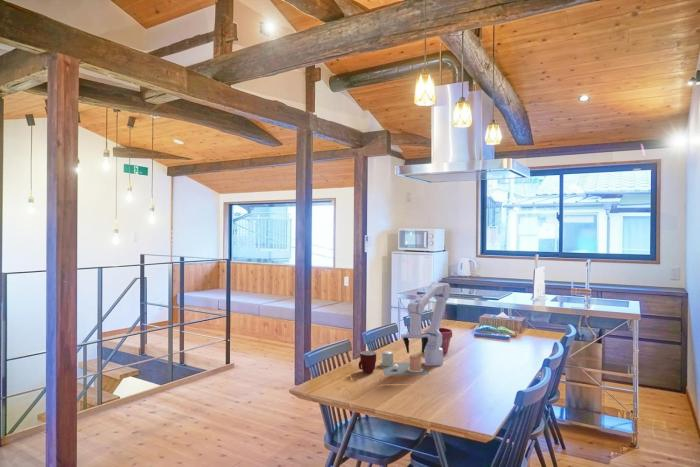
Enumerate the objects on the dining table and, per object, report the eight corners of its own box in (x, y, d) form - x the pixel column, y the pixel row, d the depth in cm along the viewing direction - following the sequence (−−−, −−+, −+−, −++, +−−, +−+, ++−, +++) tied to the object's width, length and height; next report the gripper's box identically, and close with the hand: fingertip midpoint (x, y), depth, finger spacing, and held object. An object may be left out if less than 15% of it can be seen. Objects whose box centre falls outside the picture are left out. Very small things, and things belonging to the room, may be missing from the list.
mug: (367, 377, 218) (367, 357, 218) (353, 374, 223) (354, 354, 223) (379, 372, 226) (379, 352, 226) (366, 369, 231) (366, 350, 231)
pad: (421, 367, 233) (421, 366, 233) (424, 372, 225) (424, 371, 225) (406, 367, 233) (406, 366, 233) (408, 372, 225) (408, 371, 225)
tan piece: (419, 367, 232) (419, 354, 232) (421, 370, 226) (421, 357, 226) (408, 367, 232) (408, 354, 232) (410, 371, 226) (410, 358, 226)
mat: (420, 363, 242) (420, 362, 242) (429, 375, 222) (429, 374, 222) (379, 364, 241) (379, 362, 241) (384, 376, 221) (384, 375, 221)
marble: (398, 369, 230) (398, 363, 230) (399, 370, 227) (399, 364, 227) (392, 369, 230) (392, 363, 230) (393, 371, 227) (393, 365, 227)
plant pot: (450, 348, 273) (450, 327, 273) (453, 355, 259) (453, 332, 259) (426, 347, 274) (426, 326, 274) (428, 354, 260) (428, 332, 260)
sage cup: (391, 363, 240) (391, 351, 240) (393, 366, 235) (393, 353, 235) (381, 363, 240) (381, 351, 240) (382, 366, 234) (382, 354, 234)
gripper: (402, 327, 225) (402, 354, 225) (431, 327, 225) (431, 354, 226) (400, 324, 232) (400, 351, 232) (428, 324, 232) (428, 350, 233)
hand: (415, 352), depth 229 cm, fingers open, 7 cm apart
